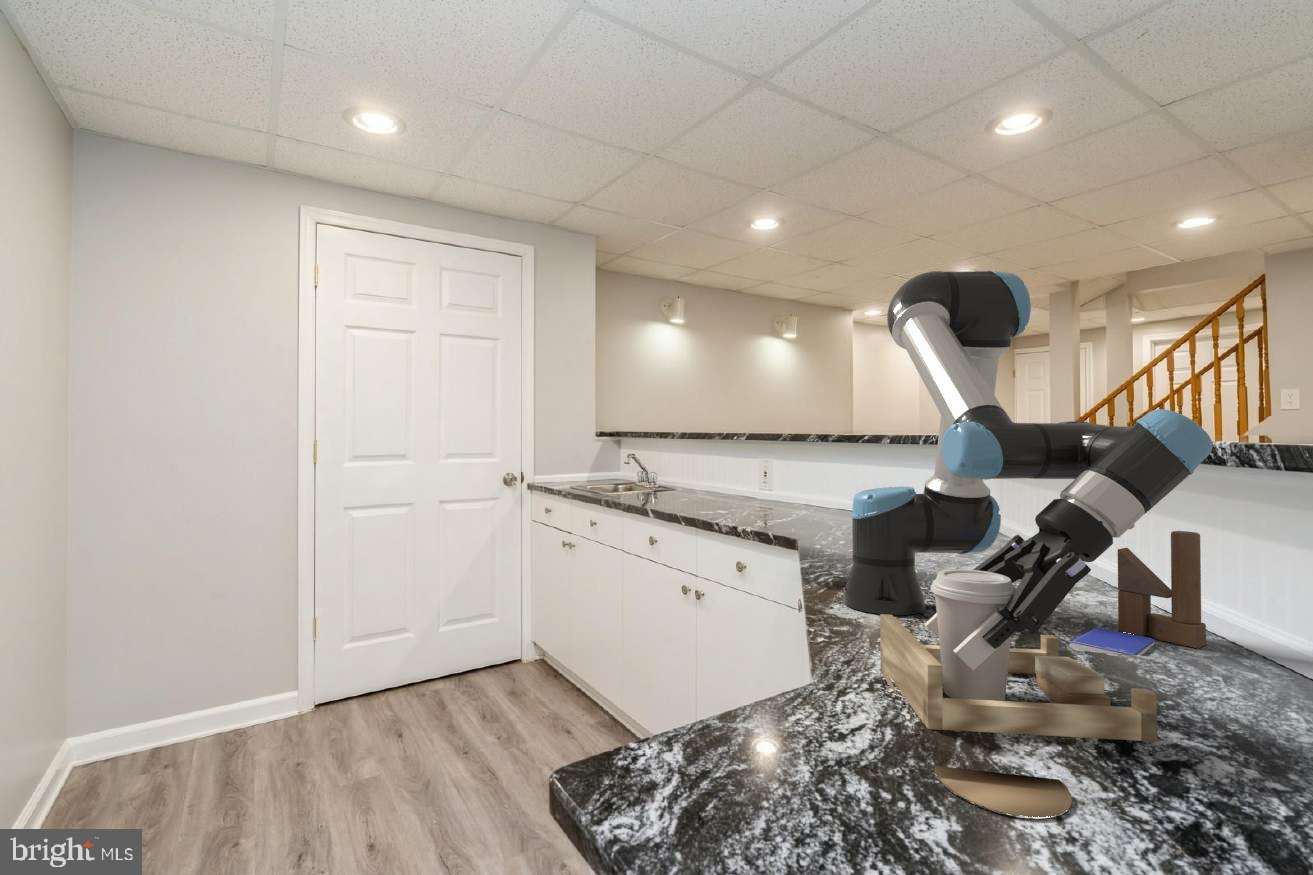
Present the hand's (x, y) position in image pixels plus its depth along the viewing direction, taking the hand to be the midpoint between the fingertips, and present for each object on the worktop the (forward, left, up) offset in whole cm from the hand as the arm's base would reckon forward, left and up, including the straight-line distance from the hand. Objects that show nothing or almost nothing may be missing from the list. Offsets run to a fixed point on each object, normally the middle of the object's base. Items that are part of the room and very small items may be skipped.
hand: (946, 645), depth 74 cm
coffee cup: (+2, +3, -7) cm, 7 cm away
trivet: (+14, -11, -7) cm, 19 cm away
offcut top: (+8, +11, -4) cm, 14 cm away
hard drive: (-2, +43, -8) cm, 44 cm away
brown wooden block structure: (0, +55, -7) cm, 55 cm away
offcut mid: (+8, +12, -6) cm, 15 cm away
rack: (+3, +5, -7) cm, 9 cm away
